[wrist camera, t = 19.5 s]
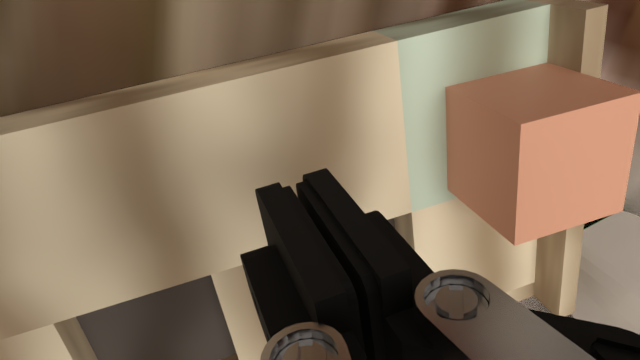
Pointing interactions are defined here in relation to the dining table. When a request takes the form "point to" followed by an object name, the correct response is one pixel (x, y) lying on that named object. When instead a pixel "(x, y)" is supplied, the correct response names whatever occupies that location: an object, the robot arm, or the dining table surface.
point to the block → (540, 148)
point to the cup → (610, 273)
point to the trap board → (258, 182)
